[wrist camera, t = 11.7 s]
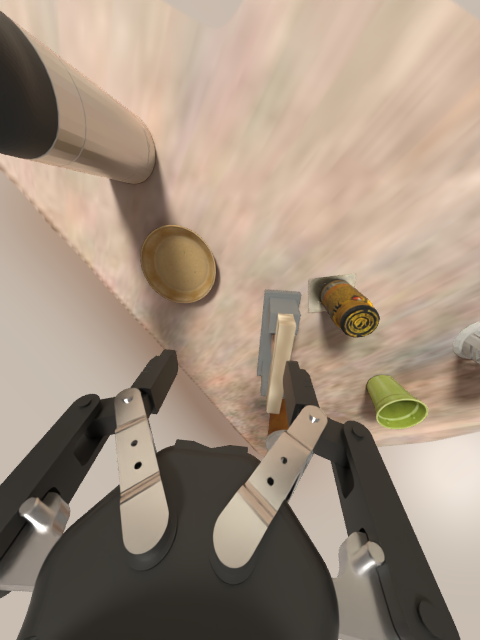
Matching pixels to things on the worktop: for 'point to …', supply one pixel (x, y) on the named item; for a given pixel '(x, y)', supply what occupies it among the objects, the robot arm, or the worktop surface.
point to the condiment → (343, 304)
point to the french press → (468, 343)
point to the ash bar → (279, 360)
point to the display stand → (274, 328)
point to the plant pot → (395, 404)
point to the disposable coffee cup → (277, 425)
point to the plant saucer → (178, 264)
